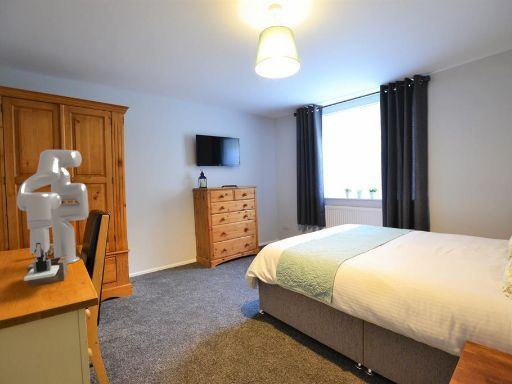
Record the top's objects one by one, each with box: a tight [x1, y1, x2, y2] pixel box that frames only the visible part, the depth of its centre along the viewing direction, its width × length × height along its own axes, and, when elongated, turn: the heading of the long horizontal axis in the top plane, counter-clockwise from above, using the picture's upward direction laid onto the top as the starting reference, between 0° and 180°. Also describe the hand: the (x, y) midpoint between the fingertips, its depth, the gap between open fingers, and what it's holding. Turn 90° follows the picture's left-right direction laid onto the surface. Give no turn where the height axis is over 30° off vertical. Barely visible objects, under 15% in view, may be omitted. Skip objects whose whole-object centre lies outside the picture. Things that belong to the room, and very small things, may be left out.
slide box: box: [26, 255, 69, 288], centre depth 118 cm, size 14×12×8 cm
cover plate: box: [23, 258, 59, 282], centre depth 106 cm, size 13×9×5 cm
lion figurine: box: [34, 243, 54, 255], centre depth 158 cm, size 15×5×9 cm, turn 153°
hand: (42, 269), depth 106 cm, fingers closed on cover plate, 3 cm apart
